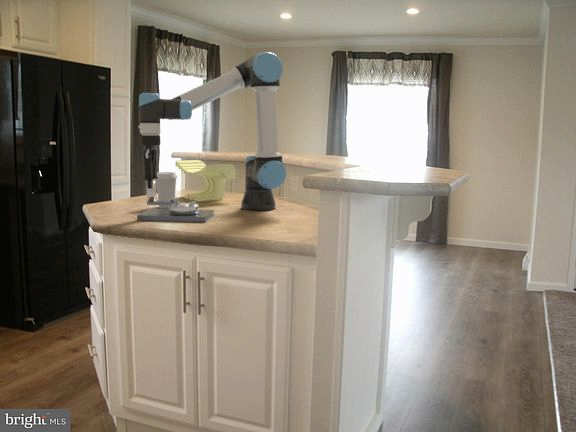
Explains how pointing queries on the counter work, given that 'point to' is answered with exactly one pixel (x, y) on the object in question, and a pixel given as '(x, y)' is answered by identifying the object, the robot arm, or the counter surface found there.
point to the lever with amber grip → (175, 206)
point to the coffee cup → (166, 187)
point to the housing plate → (174, 216)
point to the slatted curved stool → (208, 178)
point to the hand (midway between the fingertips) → (151, 195)
